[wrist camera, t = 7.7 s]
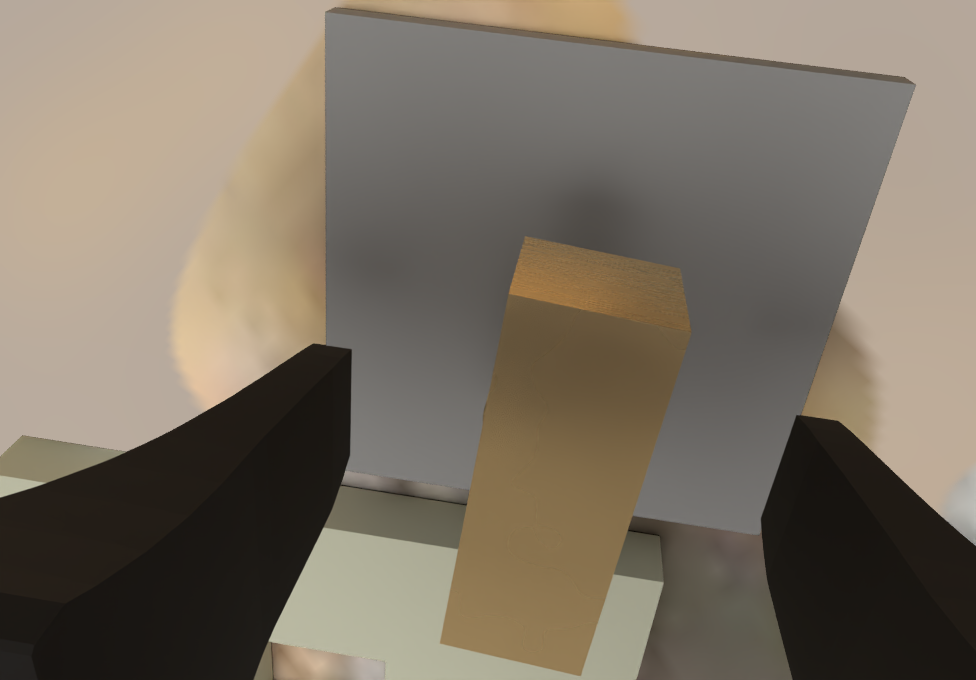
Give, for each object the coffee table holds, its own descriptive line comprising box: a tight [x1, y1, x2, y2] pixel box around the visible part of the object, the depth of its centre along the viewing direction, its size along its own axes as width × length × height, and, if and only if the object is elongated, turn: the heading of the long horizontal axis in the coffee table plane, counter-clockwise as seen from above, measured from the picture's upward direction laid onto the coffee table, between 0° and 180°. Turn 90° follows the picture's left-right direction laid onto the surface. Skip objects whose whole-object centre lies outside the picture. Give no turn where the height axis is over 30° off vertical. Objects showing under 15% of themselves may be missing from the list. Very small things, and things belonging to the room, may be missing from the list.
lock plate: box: [0, 436, 664, 680], centre depth 22 cm, size 16×12×2 cm
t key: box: [440, 236, 692, 676], centre depth 14 cm, size 6×2×6 cm, turn 171°
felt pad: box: [325, 7, 916, 535], centre depth 17 cm, size 10×10×1 cm
